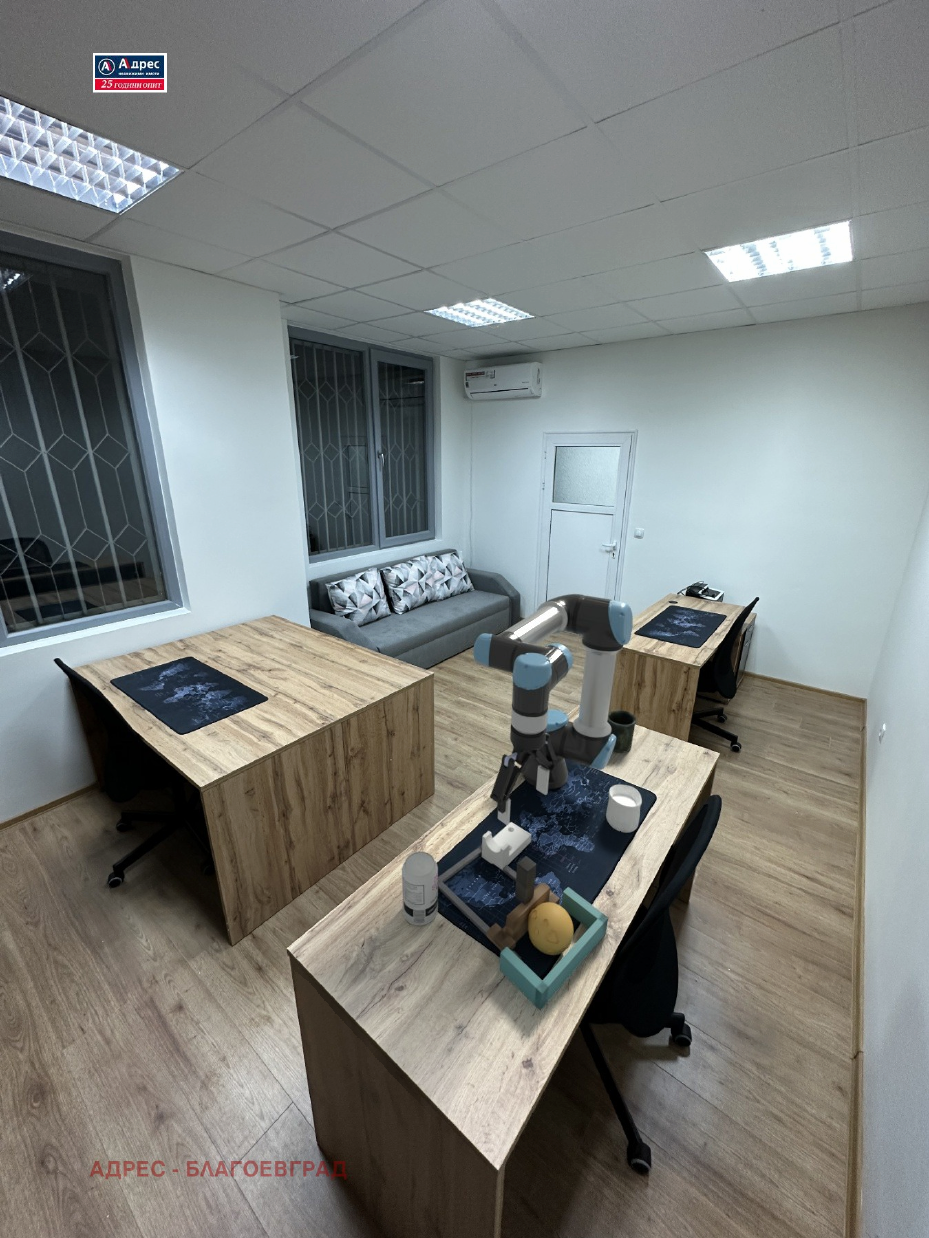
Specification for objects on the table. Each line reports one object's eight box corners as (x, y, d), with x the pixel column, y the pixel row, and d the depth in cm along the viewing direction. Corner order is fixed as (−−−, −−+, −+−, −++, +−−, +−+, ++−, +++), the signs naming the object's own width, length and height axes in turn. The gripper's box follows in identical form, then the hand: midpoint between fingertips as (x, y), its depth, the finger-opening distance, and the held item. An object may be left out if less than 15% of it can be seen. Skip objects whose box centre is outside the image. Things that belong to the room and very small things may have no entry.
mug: (597, 746, 182) (601, 718, 178) (612, 729, 193) (616, 702, 188) (626, 757, 175) (630, 728, 171) (639, 739, 186) (644, 712, 182)
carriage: (539, 890, 122) (544, 835, 116) (558, 906, 118) (565, 849, 112) (486, 939, 110) (489, 880, 104) (506, 958, 106) (510, 898, 100)
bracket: (502, 872, 128) (503, 850, 125) (481, 858, 132) (482, 836, 130) (530, 844, 137) (532, 822, 135) (510, 831, 142) (511, 810, 139)
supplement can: (399, 903, 118) (397, 855, 113) (431, 892, 122) (430, 845, 116) (409, 932, 111) (407, 883, 106) (442, 920, 115) (443, 871, 109)
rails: (481, 847, 135) (481, 844, 135) (565, 915, 116) (565, 912, 116) (433, 883, 124) (433, 880, 124) (516, 965, 105) (516, 962, 104)
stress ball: (558, 926, 115) (528, 896, 115) (587, 919, 108) (555, 887, 108) (544, 968, 107) (512, 936, 107) (575, 963, 101) (540, 929, 101)
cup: (623, 806, 152) (627, 780, 148) (646, 828, 143) (651, 801, 140) (598, 814, 148) (602, 788, 145) (620, 837, 140) (624, 810, 136)
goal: (566, 902, 120) (568, 886, 118) (605, 933, 112) (608, 917, 110) (499, 969, 104) (500, 952, 102) (540, 1010, 97) (542, 993, 95)
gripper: (549, 698, 113) (543, 773, 121) (474, 741, 97) (472, 825, 105) (577, 710, 108) (569, 787, 116) (502, 758, 92) (498, 845, 100)
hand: (523, 805), depth 110 cm, fingers open, 13 cm apart
